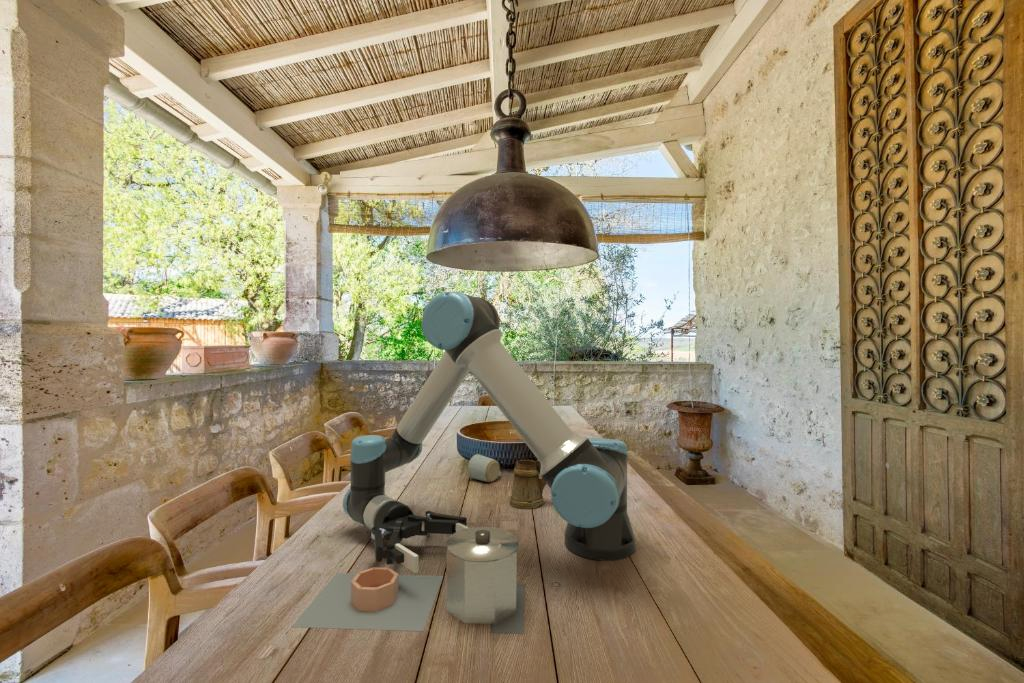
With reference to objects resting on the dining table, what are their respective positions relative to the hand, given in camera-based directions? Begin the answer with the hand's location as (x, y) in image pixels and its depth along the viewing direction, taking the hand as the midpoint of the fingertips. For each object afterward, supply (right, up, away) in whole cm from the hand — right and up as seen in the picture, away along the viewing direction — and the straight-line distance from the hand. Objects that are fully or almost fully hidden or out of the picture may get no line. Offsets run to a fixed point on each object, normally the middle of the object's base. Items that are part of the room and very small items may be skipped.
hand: (449, 551), depth 82 cm
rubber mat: (+6, -6, -6) cm, 11 cm away
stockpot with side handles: (+6, -6, -6) cm, 11 cm away
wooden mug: (+17, -7, +42) cm, 46 cm away
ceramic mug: (+3, -7, +65) cm, 65 cm away
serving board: (-12, -6, -6) cm, 14 cm away
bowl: (-12, -5, -6) cm, 14 cm away
